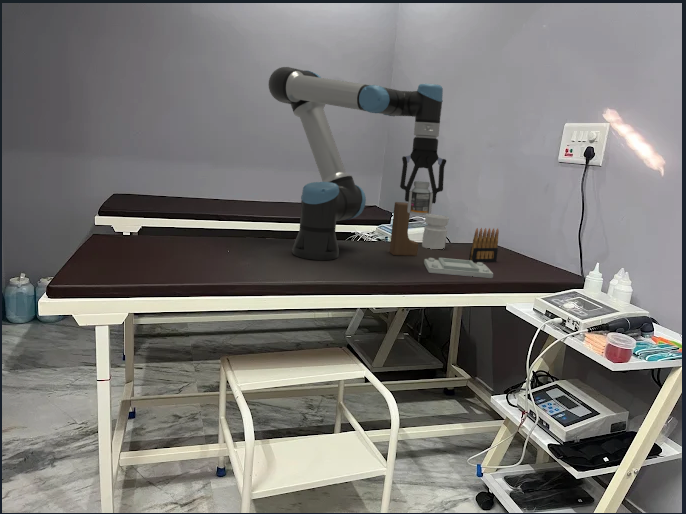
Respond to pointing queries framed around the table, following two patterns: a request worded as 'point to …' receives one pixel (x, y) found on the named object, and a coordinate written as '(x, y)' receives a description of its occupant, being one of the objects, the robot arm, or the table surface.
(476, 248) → the ammunition clip
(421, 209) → the pill bottle
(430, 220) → the white lidded jar
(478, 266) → the base plate
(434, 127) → the robot arm
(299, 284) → the table surface
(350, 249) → the table surface
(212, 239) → the table surface
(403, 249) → the wooden block
